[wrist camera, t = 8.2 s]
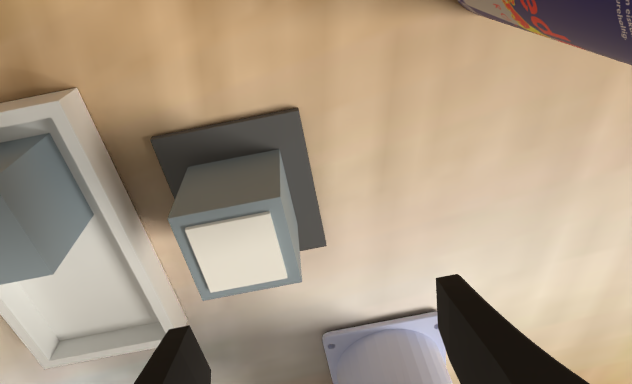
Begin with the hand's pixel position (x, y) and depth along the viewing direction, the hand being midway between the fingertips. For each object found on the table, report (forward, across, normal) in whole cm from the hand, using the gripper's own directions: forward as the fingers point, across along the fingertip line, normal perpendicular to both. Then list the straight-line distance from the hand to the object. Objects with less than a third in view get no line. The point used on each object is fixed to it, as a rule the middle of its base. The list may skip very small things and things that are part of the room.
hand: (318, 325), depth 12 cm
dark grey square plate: (+10, +3, +1) cm, 11 cm away
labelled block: (+10, +3, +1) cm, 10 cm away
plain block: (+10, +13, -2) cm, 16 cm away
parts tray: (+10, +13, +2) cm, 17 cm away
